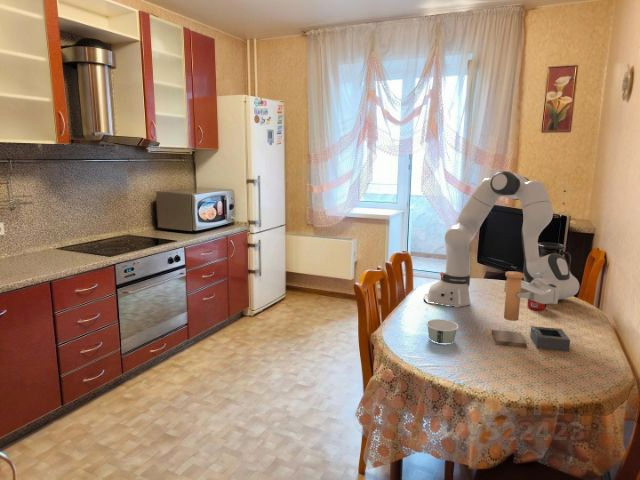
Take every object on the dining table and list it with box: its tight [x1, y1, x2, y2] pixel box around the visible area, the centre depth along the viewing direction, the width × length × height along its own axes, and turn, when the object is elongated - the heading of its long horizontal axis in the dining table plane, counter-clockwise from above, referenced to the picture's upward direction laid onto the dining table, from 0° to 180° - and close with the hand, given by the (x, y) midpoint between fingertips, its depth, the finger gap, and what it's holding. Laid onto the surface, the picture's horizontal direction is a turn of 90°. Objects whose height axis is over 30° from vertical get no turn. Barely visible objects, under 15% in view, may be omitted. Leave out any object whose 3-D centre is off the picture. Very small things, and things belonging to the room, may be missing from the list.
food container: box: [426, 318, 459, 343], centre depth 169 cm, size 12×12×6 cm
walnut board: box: [491, 329, 528, 348], centre depth 170 cm, size 11×11×2 cm
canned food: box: [527, 298, 547, 312], centre depth 206 cm, size 8×8×11 cm
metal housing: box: [529, 326, 571, 352], centre depth 166 cm, size 11×11×4 cm
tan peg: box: [503, 270, 524, 322], centre depth 167 cm, size 6×6×18 cm
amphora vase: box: [523, 242, 572, 303], centre depth 219 cm, size 22×22×28 cm
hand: (511, 292), depth 166 cm, fingers closed on tan peg, 5 cm apart
